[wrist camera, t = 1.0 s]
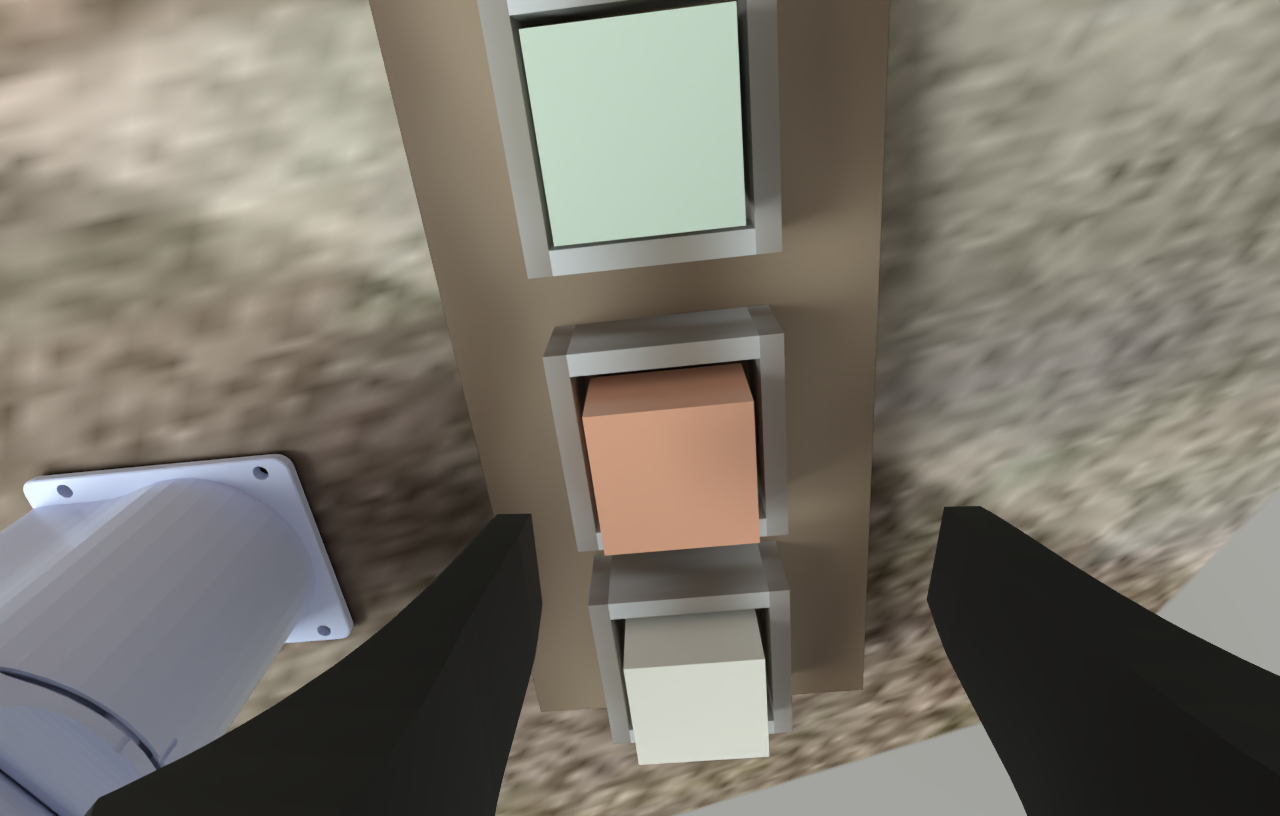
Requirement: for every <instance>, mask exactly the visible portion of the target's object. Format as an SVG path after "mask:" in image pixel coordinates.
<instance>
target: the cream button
mask: <svg viewBox="0 0 1280 816" xmlns="http://www.w3.org/2000/svg"><path fill="white" fill-rule="evenodd" d="M623 670H624V676H625V682H626V688H627V694H628V701H629V707H630V713H631V719H632V725H633V731H634V737H635V743H636V749H637V755H638V762H639V765H645V764H660V763H676V762H691V761H707V760H722V759H738V758H753V757H769V739H768V716H767V693H766V671H765V657H764V652H763V647H762V642H761V637H760V632H759V627H758V622H757V617H756V612H755V609H743V610H730V611H717V612H704V613H691V614H678V615H665V616H652V617H639V618H627V619H626V622H625V645H624V667H623Z"/></svg>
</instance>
